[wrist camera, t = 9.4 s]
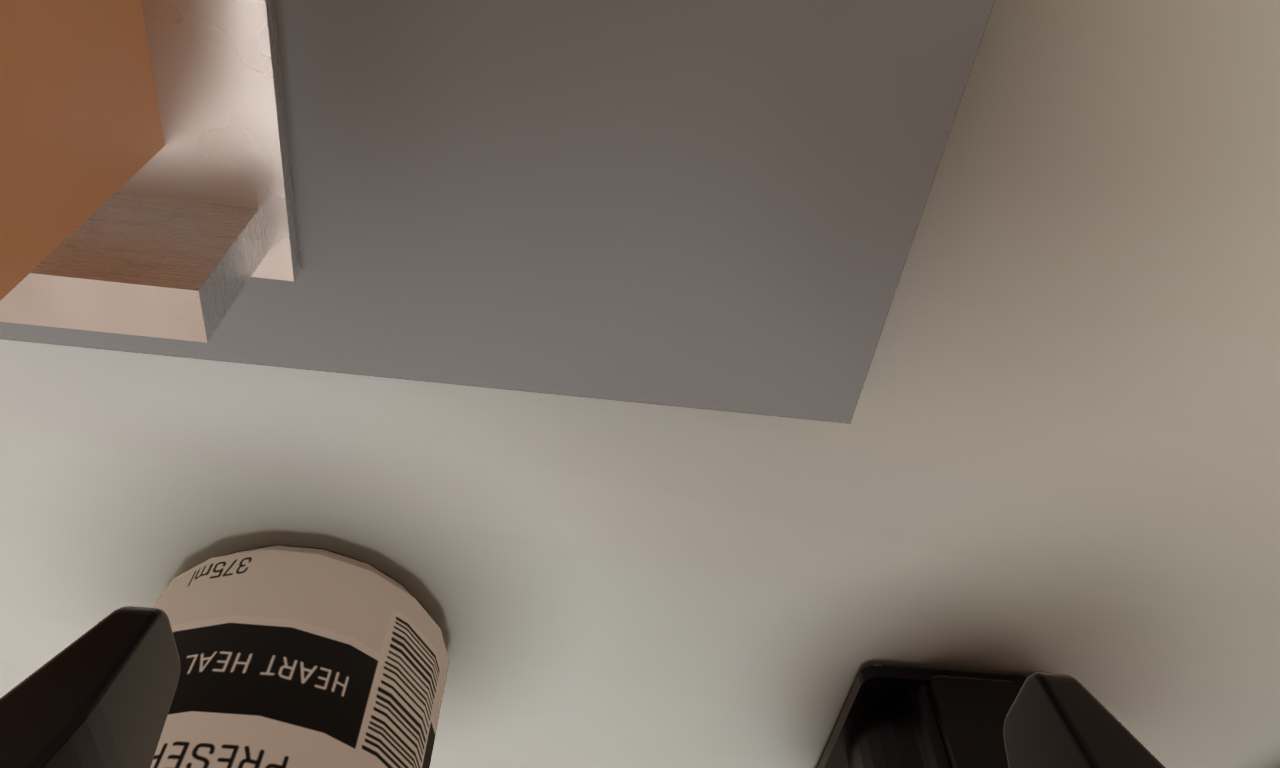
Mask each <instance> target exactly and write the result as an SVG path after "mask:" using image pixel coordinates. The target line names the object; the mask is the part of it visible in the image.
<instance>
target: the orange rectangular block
mask: <svg viewBox="0 0 1280 768" xmlns="http://www.w3.org/2000/svg"><path fill="white" fill-rule="evenodd" d="M164 146H165V143H164V137H163V131H162V125H161V119H160V113H159V107H158V101H157V95H156V89H155V83H154V77H153V71H152V65H151V59H150V53H149V47H148V41H147V35H146V29H145V23H144V17H143V11H142V6H141V0H0V301H1V300H2V299H3V298H4V297H5V296H6V295H7V294H8V293H9V292H10V291H11V290H12V289H13V288H15V287H16V286H17V285H18V284H19V283H20V282H21V281H22V280H23V279H24V278H25V277H26V276H27V275H28V274H29V273H30V272H31V271H33V270H34V269H35V268H36V267H37V266H38V265H39V264H40V263H41V262H42V261H43V260H44V259H45V258H46V257H47V256H48V255H50V254H51V253H52V252H53V251H54V250H55V249H56V248H57V247H58V246H59V245H60V244H61V243H62V242H63V241H64V240H65V239H67V238H68V237H69V236H70V235H71V234H72V233H73V232H74V231H75V230H76V229H77V228H78V227H79V226H80V225H81V224H82V223H83V222H85V221H86V220H87V219H88V218H89V217H90V216H91V215H92V214H93V213H94V212H95V211H96V210H97V209H98V208H99V207H100V206H102V205H103V204H104V203H105V202H106V201H107V200H108V199H109V198H110V197H111V196H112V195H113V194H114V193H115V192H116V191H117V190H119V189H120V188H121V187H122V186H123V185H124V184H125V183H126V182H127V181H128V180H129V179H130V178H131V177H132V176H133V175H134V174H136V173H137V172H138V171H139V170H140V169H141V168H142V167H143V166H144V165H145V164H146V163H147V162H148V161H149V160H150V159H151V158H152V157H154V156H155V155H156V154H157V153H158V152H159V151H160V150H161V149H162V148H163V147H164Z"/></svg>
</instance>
